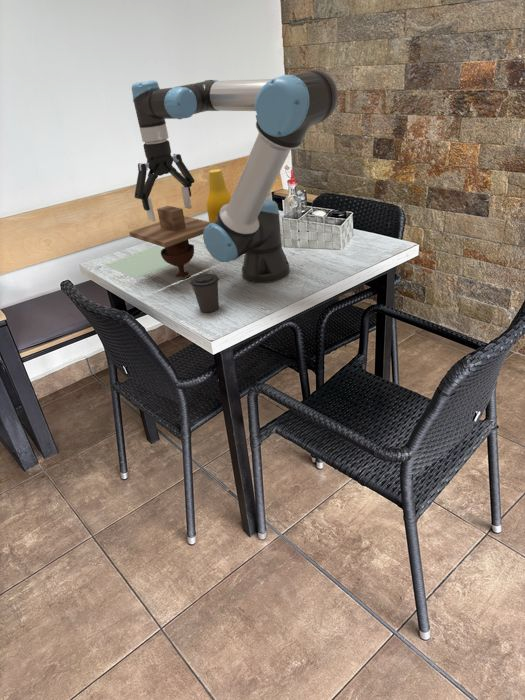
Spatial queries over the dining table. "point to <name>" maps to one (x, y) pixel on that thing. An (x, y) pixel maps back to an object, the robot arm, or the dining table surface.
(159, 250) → the green mat
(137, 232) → the walnut cover
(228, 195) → the yellow bottle
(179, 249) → the ice cream bowl
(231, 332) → the dining table surface
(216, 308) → the coffee cup
